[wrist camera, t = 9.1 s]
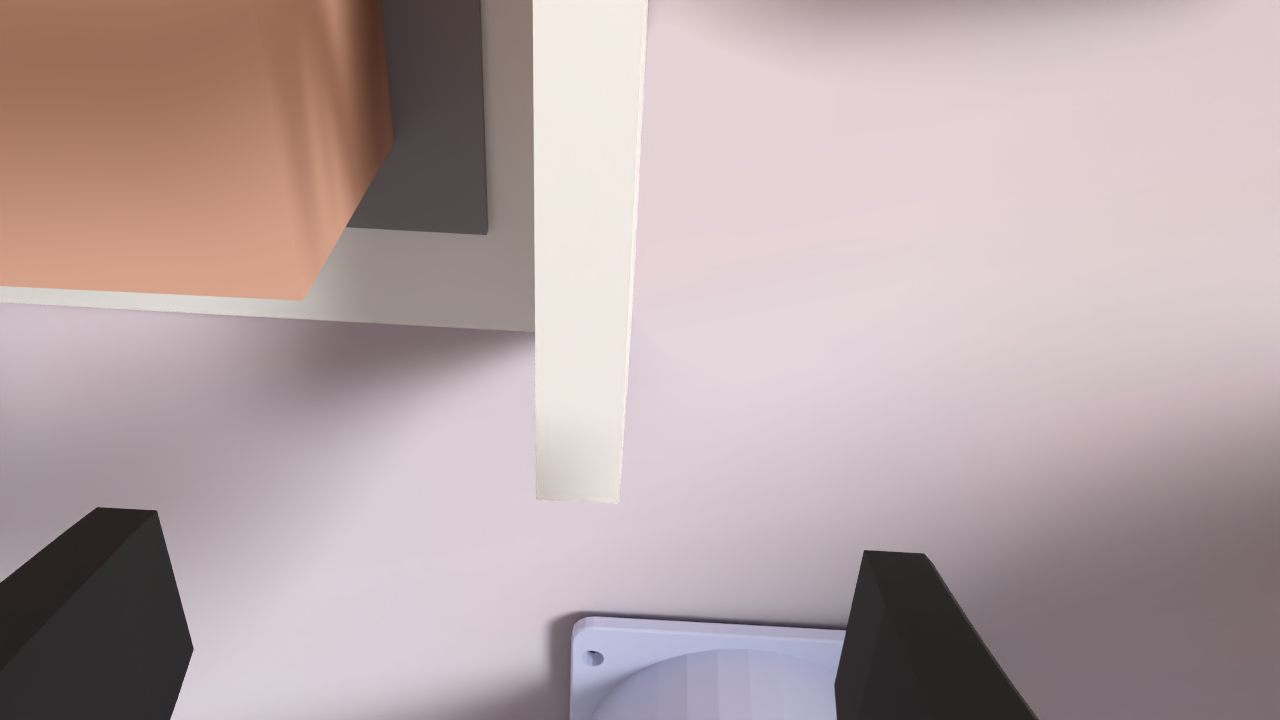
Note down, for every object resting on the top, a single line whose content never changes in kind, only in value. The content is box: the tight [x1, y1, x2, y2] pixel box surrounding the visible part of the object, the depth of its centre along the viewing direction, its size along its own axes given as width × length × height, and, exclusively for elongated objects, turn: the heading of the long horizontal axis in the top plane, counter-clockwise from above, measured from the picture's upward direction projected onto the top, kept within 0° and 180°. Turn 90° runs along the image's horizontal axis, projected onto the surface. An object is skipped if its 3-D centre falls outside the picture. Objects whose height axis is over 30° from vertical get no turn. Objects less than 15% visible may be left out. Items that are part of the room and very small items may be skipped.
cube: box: [0, 0, 394, 301], centre depth 14 cm, size 5×5×5 cm
